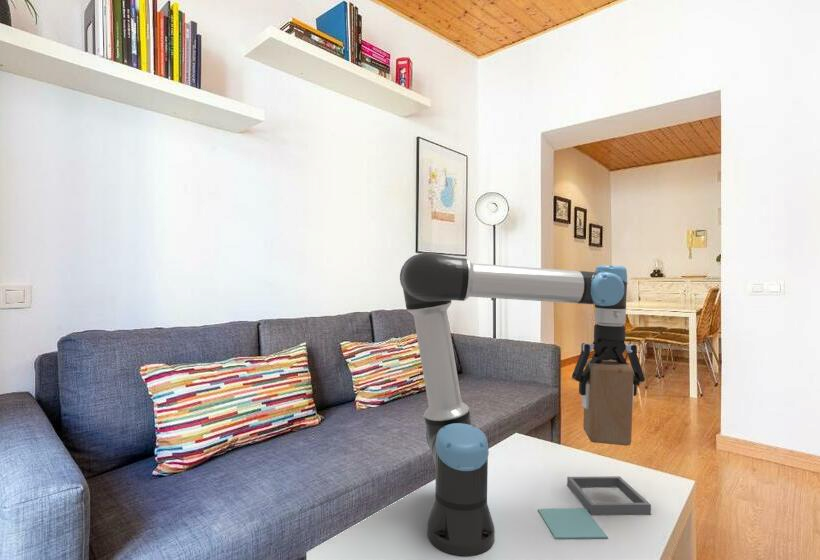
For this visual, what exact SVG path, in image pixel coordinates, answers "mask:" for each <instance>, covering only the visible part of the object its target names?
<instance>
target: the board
mask: <svg viewBox="0 0 820 560" xmlns="http://www.w3.org/2000/svg"><path fill="white" fill-rule="evenodd" d="M537 511H538V513H539V515H540V517H541V518H542V520H543V521H544V523H545V525H546V527H547V528H548V530H549V531H550V533H551V534H552V536H553V538H554V539H555V540H592V539H593V540H595V539H596V540H597V539H600V540H602V539H603V540H604V539H605V540H606V539H607V540H608V539H609V536H608V535H607V534H606V533H605V531H604V530H603V529H602V528H601V526H600V525H599V524H598V522H596V520H595V519H594V517H592V516H593V515H591V514H590V513H589V512H588V511H587V509H586V508H585V507H577V508H576V507H573V508H570V507H567V508H561V507H559V508H555V507H554V508H546V507H545V508H537Z"/></svg>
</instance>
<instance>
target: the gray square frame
mask: <svg viewBox="0 0 820 560" xmlns="http://www.w3.org/2000/svg"><path fill="white" fill-rule="evenodd" d="M566 481H567V482H566V483H567V484H566V486H567V487H568V488H569V490H570V491H571V492H572V494H573V495H574V496H575V497H576V498H577V500H579V502H580V503H581V505H582V506H583V508H585V509H586V510H587V511H588V513H589V514H590V515H591V516H629V515H630V516H631V515H632V516H636V515H637V516H638V515H639V516H640V515H641V516H642V515H643V516H645V515H646V516H648V515H652V514H651V511H652V504H651V503H650V502H649V501H648V500H647V499H645V498H644V497H643V496H642V495H641V494H640V493H639V492H638V491H637V490H636V489H634V487H632V486H631V485H630V484H629V482H627V481H626V480H624V479H623V478H622V477H621V476H618V475H616V476H567V479H566ZM583 488H618V489H619V490H620V491H622V492H623V494H624V495H626V496H627V497H628V498H629V499H630V500H631V501H632V502H593V501H592V499H590V497H589V496H588V494H587V493H586V492H585V491H584V490H583Z"/></svg>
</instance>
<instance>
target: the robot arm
mask: <svg viewBox="0 0 820 560" xmlns="http://www.w3.org/2000/svg"><path fill="white" fill-rule="evenodd" d="M627 270H628V269H627V268H626V267H625V266H623V265H597V266H596V267H595V271H585V270H581V271H580V270H570V269H559V268H556V269H555V268H545V267H544V268H542V267H541V268H540V267H527V266H516V265H515V266H514V265H498V264H485V263H472V262H471V260H469V259H468V258H463V257H462V258H461V257H453V256H448V255H443V254H441V253H440V254H439V253H435V252H428V251H427V252H421V253H418V254H414V255H412V256H410V257H409V258H408V259H406V260H405V262H404V263H403V265H402V267H401V269H400V272H399V273H400V274H399V280H400V281H399V283H400V285H401V287H402V290H403V297H404V303H405V309H406V311H407V312H408V313H410V314H411V315H412V317H413V320H414V326H415V333H416V339H417V344H418V350H419V355H420V361H421V367H422V374H423V380H424V386H425V392H426V398H427V399H426V400H427V403H428V407H427V408H426V410H425V411H424V413H423V415H424V422H425V428H426V430H425V431H426V432H425V437H426V443H427V445H428V447H429V450H430V452H431V455H432V459H433V463H434V465H435V466H434V467H435V489H434V491H435V499H434V502H433V505H432V508H431V511H430V512H429V513H430V514H429V516H428V519H427V525H426V528H427V529H426V530H427V531H426V532H427V533H426V534H427V538H428V539H429V542H430V543H431V544H432V545H433V546H434V547H435V548H437V549H439V550H440V551H442V552H445V553H447V554H450V555H456V556H475V555H479V554H482V553H484V552H487V551H488V550H489V549H490V548H491V547H492V546H493V545H494V542H495V537H496V536H495V533H496V532H495V531H496V530H495V525H494V522H493V517H492V514H491V512H490V508H489V504H488V469H489V467H488V466H489V464H488V461H489V453H490V452H489V445H488V444H489V443H488V438H487V435H486V434H485V433H484V432H483V431H482V430H481V429H480V428H478V427H474V426H473V424H472V418H471V413H470V408H469V405H467V404H466V403H464V402H463V399H462V396H461V390H460V383H459V382H460V381H459V377H458V370H457V365H456V359H455V353H454V346H453V342H452V341H453V339H452V334H451V329H450V322H449V315H448V309H449V307H450V306H451V305H452V301H457V302H459V301H463V302H465V301H466V300H467V299H468V298H470V297H473V298H483V299H484V298H487V299H488V298H489V299H502V300H515V301H516V300H518V301H519V300H520V301H521V300H522V301H533V302H534V301H535V302H537V301H538V302H549V303H550V302H552V303H570V304H579V305H580V304H581V305H594V315H593V316H594V317H593V318H594V319H593V320H594V322H595V324H594V325H593V342H592V343H585V342H582V343H581V345H580V346H581V348H580V349H581V350H580V354H579V357H578V359H577V362H576V364H575V367H574V369H573V372H572V374H571V375H572V376H571V378H572V379H573V380H575V381H576V382H578V394H580V395H581V407H583V409H584V408H586V409H589V391H590V384H589V383H587V381H588V380H589V378H590V368H589V364H588V365H587V367H586V368H585V365H586V363H587V360H588V359H589V357H590V353H591V352H592V350H594V354H593V355H592V357H591V358H590V359H591V361H590V362H589V363H601V362H602V361H603V360H616V361H617V362H619V363H621V364H627V365H629V364H628V362H627V360H626V358H625V356H624V355H623V353H624V352H625V351H626V353H627V356H628V360H629V363H630V367H631V368H632V369H633V371H634V372H633V398H634V397H637V391H638V390H637V388H638V385H640V383H642V382H643V383H644V382H645V376H644V372H643V370H642V366H641V362H640V359H639V357H638V346H637V345H636V344H632V343H628V344H626V342H625V341H626V328H627V327H625V324H626V319H627V318H626V317H627V316H626V315H627V296H628V295H627V294H628V289H627V288H628V274H627V273H628V272H627ZM632 410H634V402H633V403H632Z"/></svg>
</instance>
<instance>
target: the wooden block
mask: <svg viewBox="0 0 820 560" xmlns="http://www.w3.org/2000/svg"><path fill="white" fill-rule="evenodd" d="M591 359H592V358H588V360H587V363H586V365H585V368H586V367H587V365H588V364H589V368H590V378H589V380H588V381H587V383H589V384H590V391H589V409H586V408H584V407H583V422H582V423H583V430H584V432H585V434H586V436H587V437H588V439H589V442H591V443H594V444H596V443H597V444H606V445H617V446H625V447H626V446H630V445H631V443H632V428H633V409H632V403H633V404H634V397H633V374H634V371H633V369H632V366H631V365H629V364H628V363H627V364H628V365H627V364H621V363H619V362H617V361H616V360H603V361H602V362H601V363H589V362H590V361H591ZM585 368H584V369H585Z"/></svg>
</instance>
